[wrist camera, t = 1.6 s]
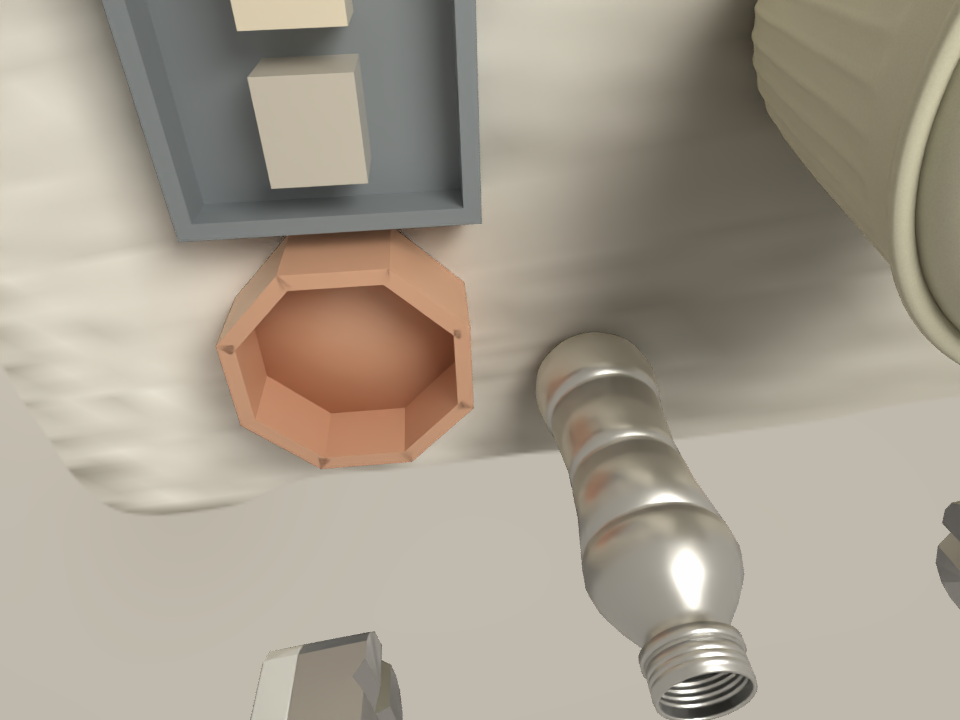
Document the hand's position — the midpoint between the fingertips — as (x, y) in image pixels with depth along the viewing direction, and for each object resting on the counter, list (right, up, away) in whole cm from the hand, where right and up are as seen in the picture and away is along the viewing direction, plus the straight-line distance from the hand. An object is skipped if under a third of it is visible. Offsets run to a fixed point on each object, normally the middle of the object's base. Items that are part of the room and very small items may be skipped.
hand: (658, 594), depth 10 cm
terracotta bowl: (-9, +5, +28) cm, 30 cm away
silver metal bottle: (+4, +3, +31) cm, 31 cm away
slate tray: (-10, +17, +19) cm, 27 cm away
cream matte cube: (-10, +14, +20) cm, 26 cm away
